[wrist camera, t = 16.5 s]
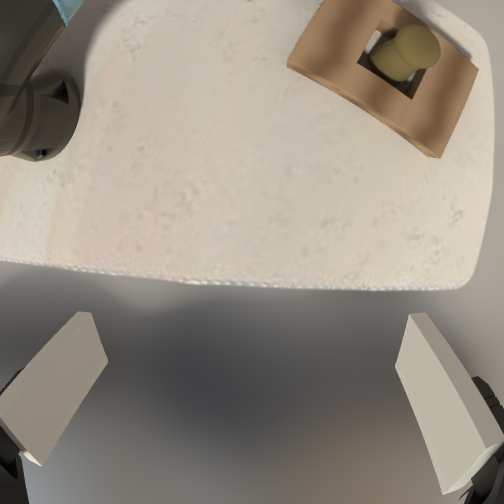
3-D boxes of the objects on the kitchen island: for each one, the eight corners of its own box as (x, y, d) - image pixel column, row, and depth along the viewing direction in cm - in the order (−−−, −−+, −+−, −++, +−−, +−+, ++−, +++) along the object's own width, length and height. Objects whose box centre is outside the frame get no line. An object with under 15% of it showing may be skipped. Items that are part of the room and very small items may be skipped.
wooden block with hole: (286, 66, 32) (287, 59, 28) (337, -15, 26) (342, -27, 23) (427, 156, 34) (440, 158, 30) (465, 72, 28) (478, 69, 25)
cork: (380, 36, 29) (412, 7, 18) (415, 64, 29) (456, 45, 19) (359, 65, 31) (388, 40, 20) (396, 94, 31) (436, 80, 21)
